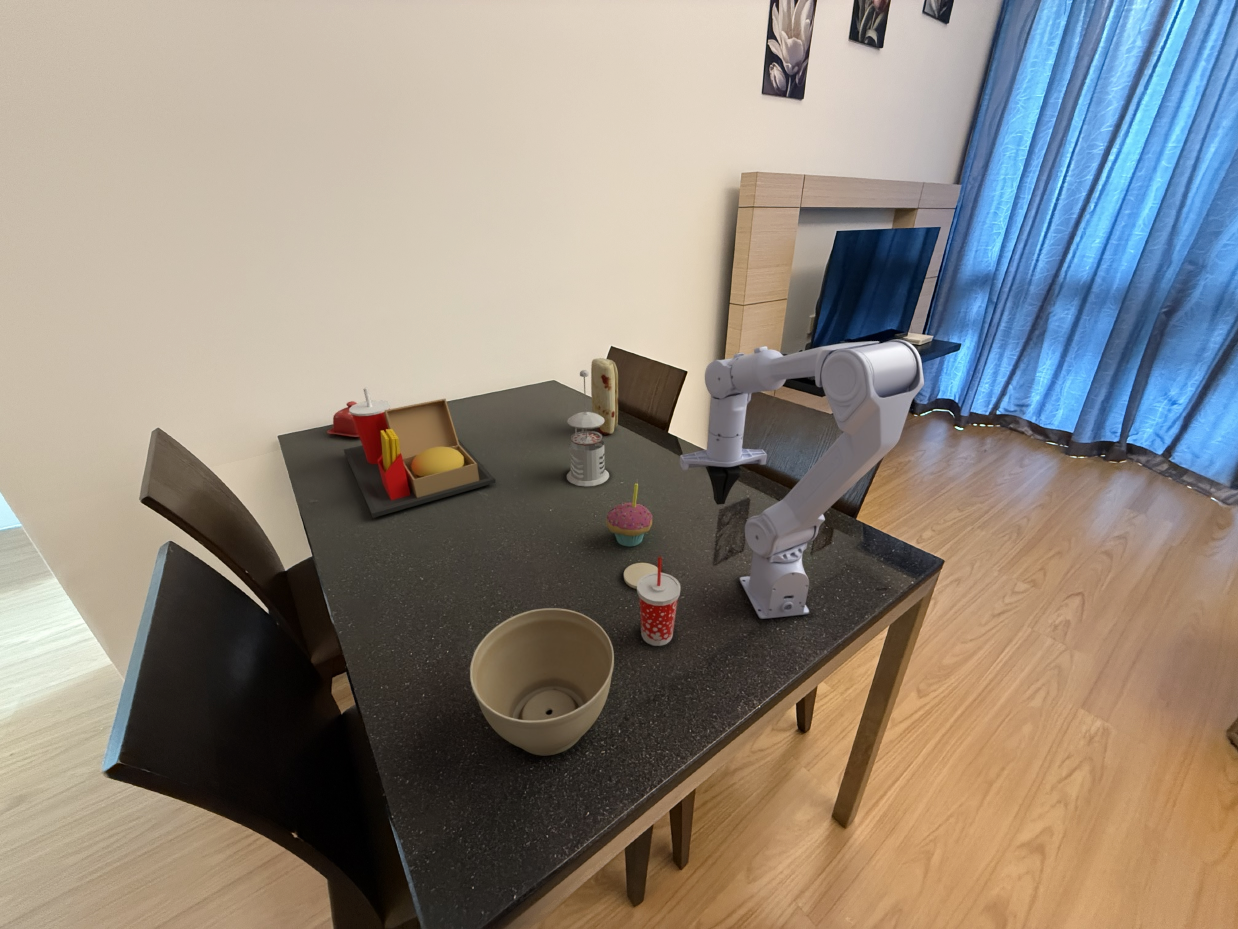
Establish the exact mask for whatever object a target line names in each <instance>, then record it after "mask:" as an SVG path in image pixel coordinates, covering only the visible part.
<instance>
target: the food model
mask: <svg viewBox="0 0 1238 929" xmlns="http://www.w3.org/2000/svg"><path fill="white" fill-rule="evenodd" d="M590 367H591V368H590V372H591V373H590V393H591V394H590V395H591V412H592V413H596V414H598V415H600V416H601V417H603V418H604V420H605V422H604V423H603V425H602V426H600V427H598V428H595V429H596V430H595V431H596V432H597V433H600V434H601V435H602V436H604V435H613V433H614V432H615V430H616V429H617V426H618V423H619V422H618V420H619V373H618V368H617V364H616V362H615V361H614V360H612V359H609V358H604V357H599V358H594V359H592V360H591V366H590Z"/></svg>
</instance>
